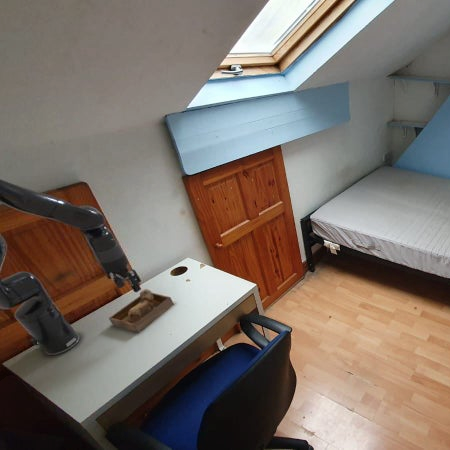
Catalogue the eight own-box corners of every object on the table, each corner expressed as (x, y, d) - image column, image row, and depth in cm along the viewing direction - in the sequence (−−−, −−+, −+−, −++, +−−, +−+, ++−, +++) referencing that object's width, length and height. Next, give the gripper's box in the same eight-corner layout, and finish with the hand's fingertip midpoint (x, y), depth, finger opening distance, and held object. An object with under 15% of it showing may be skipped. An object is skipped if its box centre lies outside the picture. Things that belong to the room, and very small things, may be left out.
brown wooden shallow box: (113, 325, 125) (108, 318, 123) (150, 298, 138) (146, 291, 136) (139, 332, 122) (134, 325, 120) (173, 304, 136) (170, 297, 133)
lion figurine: (148, 302, 136) (140, 287, 131) (161, 301, 136) (153, 286, 132) (126, 329, 123) (116, 313, 118) (140, 328, 124) (131, 312, 119)
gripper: (135, 253, 115) (152, 286, 123) (107, 247, 118) (125, 279, 127) (114, 265, 109) (134, 298, 117) (85, 258, 112) (106, 291, 120)
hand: (129, 288), depth 122 cm, fingers open, 8 cm apart
